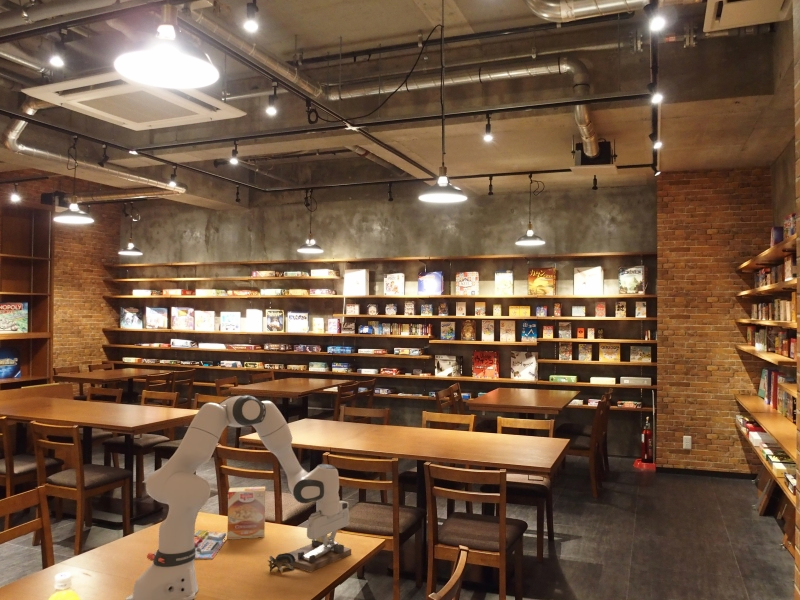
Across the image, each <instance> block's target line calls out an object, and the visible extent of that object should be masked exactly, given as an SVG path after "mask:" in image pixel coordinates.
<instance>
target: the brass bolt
mask: <svg viewBox="0 0 800 600" xmlns="http://www.w3.org/2000/svg"><path fill="white" fill-rule="evenodd" d="M326 538H327V540H329V539H328V538H330V535H328V534H327V537H326ZM315 541H319V542H322V543H323V540H322V538H321V537H320V538H318V539H316V540H315Z"/></svg>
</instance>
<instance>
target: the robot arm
mask: <svg viewBox="0 0 800 600" xmlns="http://www.w3.org/2000/svg"><path fill="white" fill-rule="evenodd" d="M250 426H252V427H253V428H254V429H255V431H256V434H257V436H258V437H259V439H260V441H261V442H262V443H263V445H264V447H265V448H266V449H267V450H268V451H269V452H270V453H271V454H273V455H274V456H275V457H276V458H277V460H278V462H279V464H280V466H281V467H282V469H283V471H284V473H285V477H286V487H287V489H288V491H289V493H290V494H291V495H292V496H293V498H294V499H295V500H296V501H297V502H298V503H300V504H309V503H313V502H315V503H316V504H315V505H316V506H315V507H316V511H315V512H313V513H311V514H310V516H309V517H308V521H307V524H306V525H307V526H306V537H307V538H308V540H311V541H312V540H316V539H318V538H320V537H321V538H322V540H323V545H324V546H328V545H329V543H331V544H332V543H334V542H336V541H335V538H336V536H337V533H338V532H337V531H339V530H340V529H343V528H344V527H347V526H349V524H350V509H349V505H350V503H349V502H348V501H344V500H340V499H341V498H340V496H339V495H340V494H339V490H340V478H339V470H338V469H337V468H336V467H335V466H334V465H332V464H328V463H327V464H326V463H321V464H317V466H316V467H315V468H314V469H313V470H311V471H307V470H306V468H303V467H302V465H301V464H300V462H299V460H298V458H297V456H296V454H295V452H294V450H293V448H292V442H293V436H292V435H293V434H292V432H291V429H290V426H289V425H288V422H287V421H286V419H285V417H284V416H283V414H282V412H281V411H280V410H279V409H278V407H277V406H276V405H275V403H274V402H272V401H271V400H262V401H260V400H259V399H258V398H257V397H255V396H252V395H249V394H248V395H247V394H246V395H236V396H231V397H227V398H224V400H222V401H220V402H219V403H216V402H206V403H205V404H203V405H202V406H201V407H200V408H199V410H198V411H197V413H196V414H195V415H194V417H193V419H192V420H191V422H190V424H189V426H188V428H187V431H186V433H185V434H184V437H183V438H182V440H181V442H180V444H179V446H178V448H177V449H176V450H175V452H174V453H173V455H172V456H171V457H170V458H169V459H168V460H167V461H166V462H165V463H164V464H163V465H162V466H161V467H160V468H158V469H157V470H155V471H153V472H152V473H151V474H150V475H149V476H148V478H147V480H146V482H145V483H146V485H145V489H146V492H147V494H148V495H149V497H150V498H152V499H153V500H155V501H157V502H158V503H161V504H165V505H168V513H167V516H166V518H165V519H164V520H163V521H162V522H160V524H159V527H158V549H157V550H156V551H155V553H156V555H155V554H154V553H153V552H148V553H147V554H146V559H147V560H149V561H152V564H150V566H148V568H147V569H146V570H145V571H144V572H143V573H141V575H140V576H139V577H138V578H137V579H136V580H135V583H134V586H133V590H132V591H133V592H132V594H131V595H128V596H126V597H125V599H124V600H194V599H195V598H196V594H197V593H198V592H199V586H198V582H197V581H198V580H197V577H196V569H195V545H194V534H195V532H196V522H197V521H196V520H197V517H198V514H199V511H200V510H201V509H202V508H203V507H204V506H205V505H206V504H207V502H208V501H209V499H210V496H211V486H210V484H209V481H208V480H206V479H205V478H203V477H201V476H199V475H197V474H195V473H196V471H198V470H199V468H201V467H202V466H204V465H205V464H207V463H209V461H210V460H211V458H212V455H213V454H214V451H215V449H216V447H217V445H218V442H219V441H220V439H221V436H222V434H223V432H224V430H225V429H226V428H242V427H250ZM328 534H330V535H329V536H330V538H328V539H329V540H327V538H326V537H327V535H328Z"/></svg>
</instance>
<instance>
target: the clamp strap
mask: <svg viewBox="0 0 800 600" xmlns="http://www.w3.org/2000/svg"><path fill="white" fill-rule="evenodd" d="M336 545H339V542H337V541H335V542H334V543H332V544H331V543H329V545H328V546H324V545H321V546H319V547H318V548H316V549H314V550H312V551H310V552H309V553H307V554H305V555H303V556H302V559H303V560H306V561H309V556H311V555H315V559H316V558H318V557H319V556H321V555H323V554H325V553H326V552H328V551H330V550H332V549H333V548H334V546H336Z"/></svg>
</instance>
